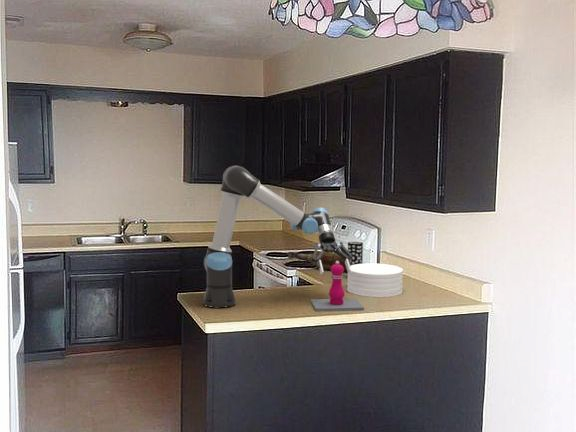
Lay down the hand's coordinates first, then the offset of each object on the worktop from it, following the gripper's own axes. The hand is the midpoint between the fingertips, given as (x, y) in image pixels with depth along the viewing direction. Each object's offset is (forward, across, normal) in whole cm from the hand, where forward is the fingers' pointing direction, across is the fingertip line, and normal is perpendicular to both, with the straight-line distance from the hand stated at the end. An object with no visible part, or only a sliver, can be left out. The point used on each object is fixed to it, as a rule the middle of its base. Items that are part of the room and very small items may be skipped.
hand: (335, 272), depth 284 cm
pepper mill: (+12, +1, -7) cm, 14 cm away
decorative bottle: (-45, -19, -67) cm, 83 cm away
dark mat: (+13, +1, -8) cm, 15 cm away
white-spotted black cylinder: (-24, -30, -45) cm, 59 cm away
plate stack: (-4, -29, -25) cm, 39 cm away
